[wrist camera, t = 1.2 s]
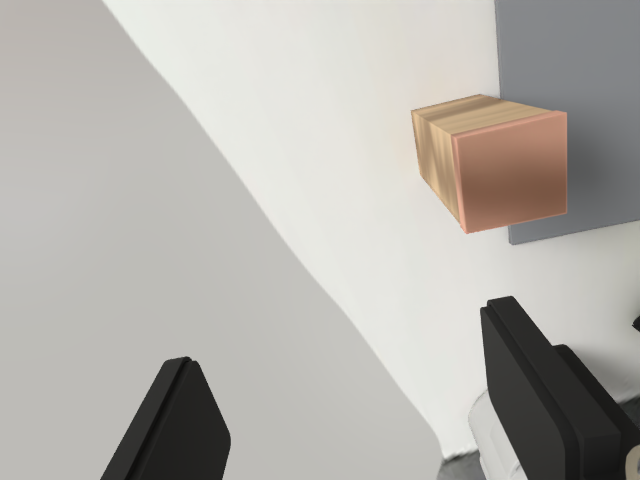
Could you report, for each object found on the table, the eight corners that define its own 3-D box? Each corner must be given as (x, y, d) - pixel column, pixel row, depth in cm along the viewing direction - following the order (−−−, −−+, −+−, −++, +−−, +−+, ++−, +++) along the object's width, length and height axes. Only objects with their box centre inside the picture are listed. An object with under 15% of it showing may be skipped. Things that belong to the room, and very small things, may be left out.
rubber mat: (492, -29, 27) (496, -31, 26) (688, -82, 26) (696, -85, 25) (509, 242, 35) (512, 245, 34) (660, 212, 33) (665, 214, 33)
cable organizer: (581, 360, 40) (683, 482, 28) (492, 441, 44) (550, 574, 33) (527, 329, 38) (611, 443, 27) (441, 416, 43) (482, 545, 31)
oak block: (410, 110, 31) (456, 138, 20) (479, 93, 30) (566, 112, 19) (419, 175, 33) (466, 234, 22) (484, 160, 32) (566, 213, 21)
